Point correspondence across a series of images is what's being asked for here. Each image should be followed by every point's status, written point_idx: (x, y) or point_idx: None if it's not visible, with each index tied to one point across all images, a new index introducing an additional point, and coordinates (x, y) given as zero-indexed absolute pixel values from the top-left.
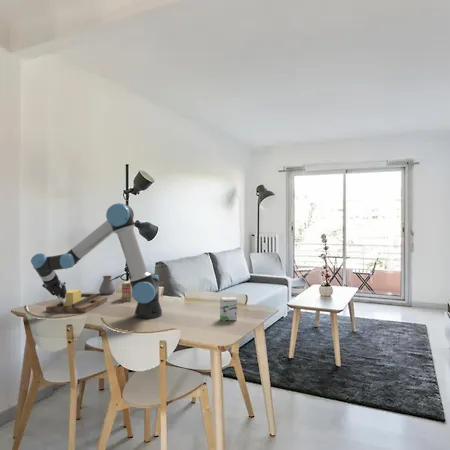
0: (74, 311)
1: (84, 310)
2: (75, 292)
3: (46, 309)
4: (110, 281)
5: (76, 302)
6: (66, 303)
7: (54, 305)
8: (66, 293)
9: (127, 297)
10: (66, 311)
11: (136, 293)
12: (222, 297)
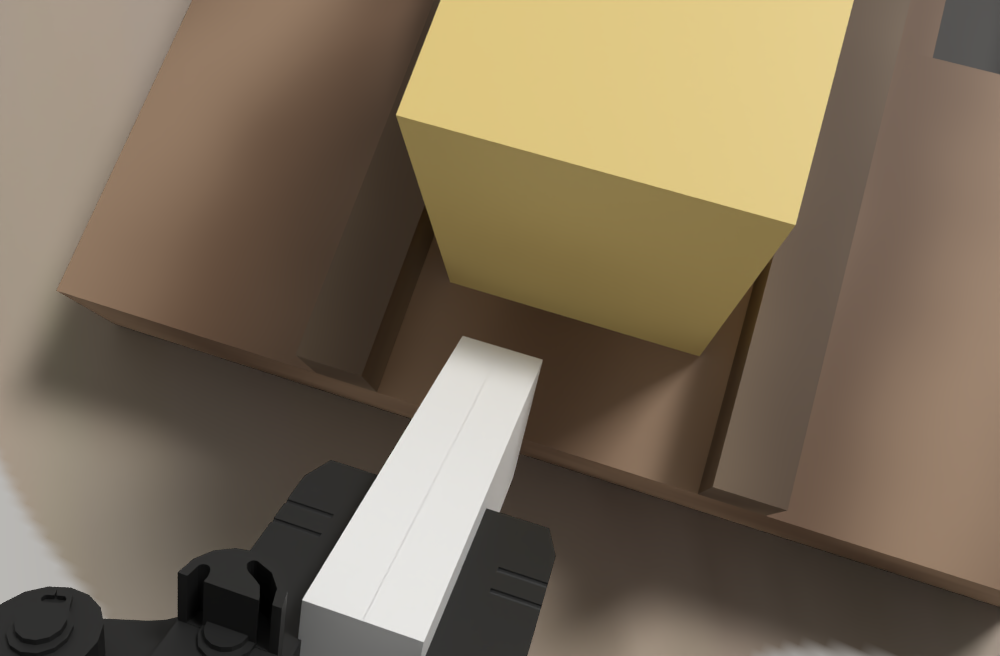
0: (745, 523)
1: None
2: (834, 62)
3: (95, 309)
4: None
5: (783, 248)
6: (526, 286)
7: (229, 171)
8: (519, 161)
9: None
10: (551, 459)
11: None
12: None
